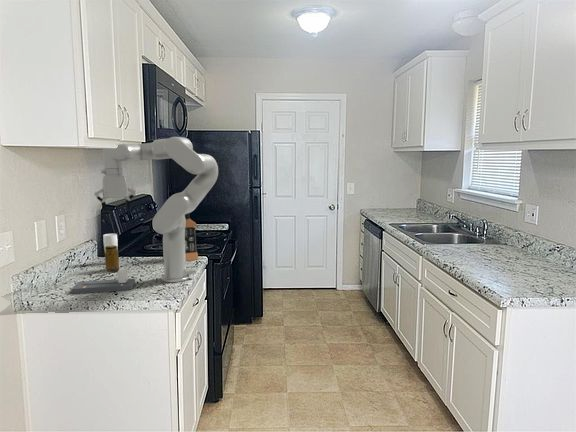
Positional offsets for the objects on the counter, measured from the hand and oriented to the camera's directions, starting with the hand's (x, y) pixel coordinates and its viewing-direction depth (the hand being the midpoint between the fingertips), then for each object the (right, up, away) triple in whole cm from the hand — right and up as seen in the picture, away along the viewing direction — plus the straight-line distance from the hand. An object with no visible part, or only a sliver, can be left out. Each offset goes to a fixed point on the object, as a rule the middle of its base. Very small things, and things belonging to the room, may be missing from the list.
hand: (116, 210), depth 190 cm
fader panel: (+1, -33, -13) cm, 36 cm away
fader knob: (+8, -30, -12) cm, 34 cm away
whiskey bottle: (+23, -26, +36) cm, 50 cm away
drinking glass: (-14, -27, +28) cm, 41 cm away
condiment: (-7, -29, +14) cm, 33 cm away
